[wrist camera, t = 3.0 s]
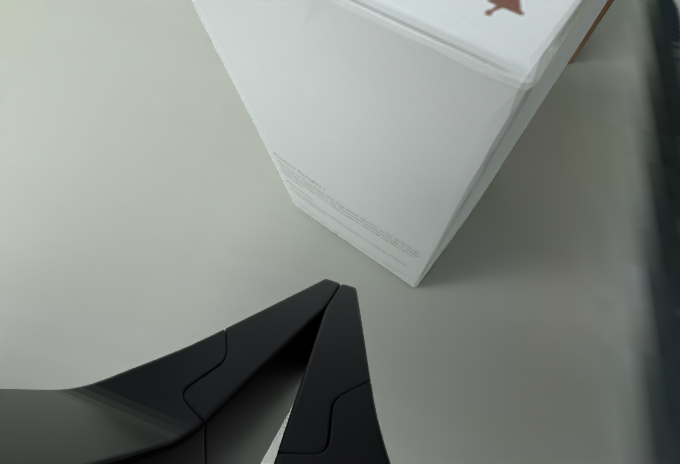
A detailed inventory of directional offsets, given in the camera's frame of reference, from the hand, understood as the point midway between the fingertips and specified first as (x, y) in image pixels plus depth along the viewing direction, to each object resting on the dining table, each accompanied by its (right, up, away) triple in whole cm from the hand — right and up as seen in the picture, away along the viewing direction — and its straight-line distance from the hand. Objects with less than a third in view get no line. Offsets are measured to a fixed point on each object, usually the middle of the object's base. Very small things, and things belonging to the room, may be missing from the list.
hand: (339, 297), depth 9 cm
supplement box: (+3, +4, +8) cm, 10 cm away
